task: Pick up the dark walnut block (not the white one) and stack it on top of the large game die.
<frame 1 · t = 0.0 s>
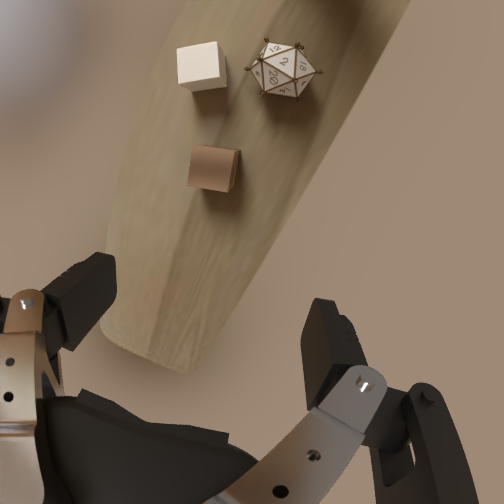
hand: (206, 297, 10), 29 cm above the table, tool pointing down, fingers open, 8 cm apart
white block: (208, 73, 32), on the table
game die: (281, 77, 32), on the table
walnut block: (219, 164, 37), on the table
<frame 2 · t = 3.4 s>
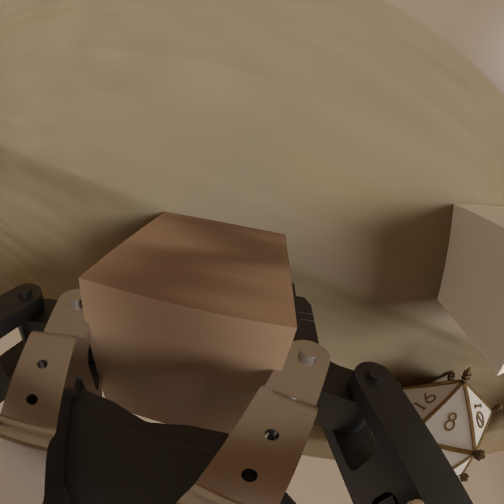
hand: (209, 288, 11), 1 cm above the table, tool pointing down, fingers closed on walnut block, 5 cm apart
white block: (479, 251, 11), on the table
game die: (414, 388, 15), on the table
walnut block: (215, 277, 12), on the table, touching gripper
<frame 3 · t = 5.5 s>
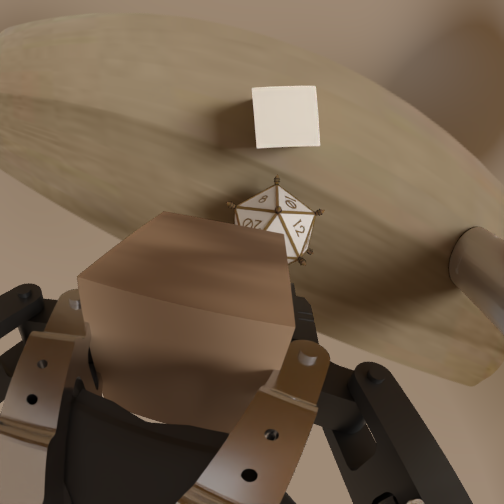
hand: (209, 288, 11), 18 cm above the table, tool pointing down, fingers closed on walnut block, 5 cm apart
white block: (281, 121, 25), on the table
game die: (271, 217, 29), on the table
walnut block: (214, 276, 12), point 17 cm above the table, touching gripper
when the fingers open (10 cm above the table, at t = 8.0 s): walnut block drops 1 cm, resting on game die.
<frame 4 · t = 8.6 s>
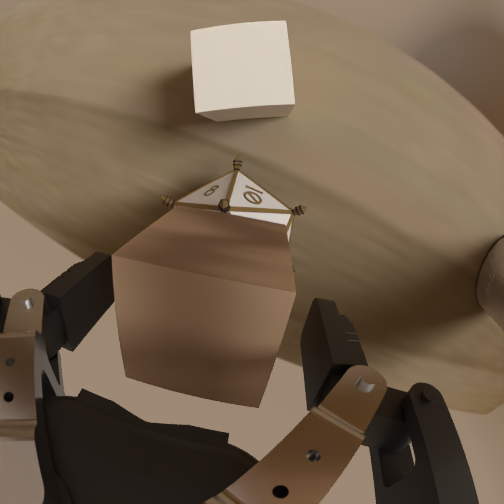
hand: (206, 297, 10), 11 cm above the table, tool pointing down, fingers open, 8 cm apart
white block: (249, 86, 17), on the table
game die: (239, 218, 21), on the table, touching walnut block
walnut block: (223, 264, 13), point 8 cm above the table, touching game die
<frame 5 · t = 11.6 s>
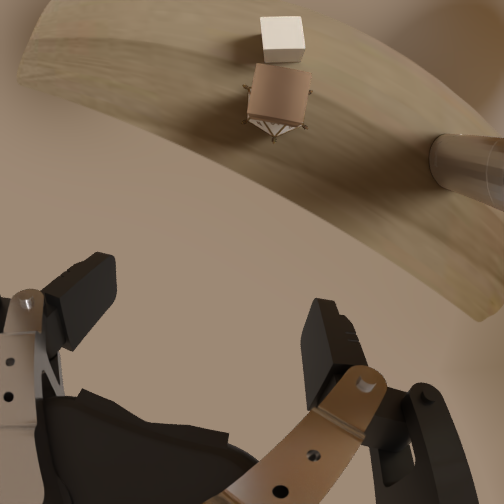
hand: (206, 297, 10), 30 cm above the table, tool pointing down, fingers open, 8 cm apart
white block: (281, 47, 30), on the table
game die: (275, 110, 34), on the table, touching walnut block
walnut block: (278, 102, 27), point 8 cm above the table, touching game die
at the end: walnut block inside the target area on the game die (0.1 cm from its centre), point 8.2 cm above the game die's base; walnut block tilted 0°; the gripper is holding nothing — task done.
